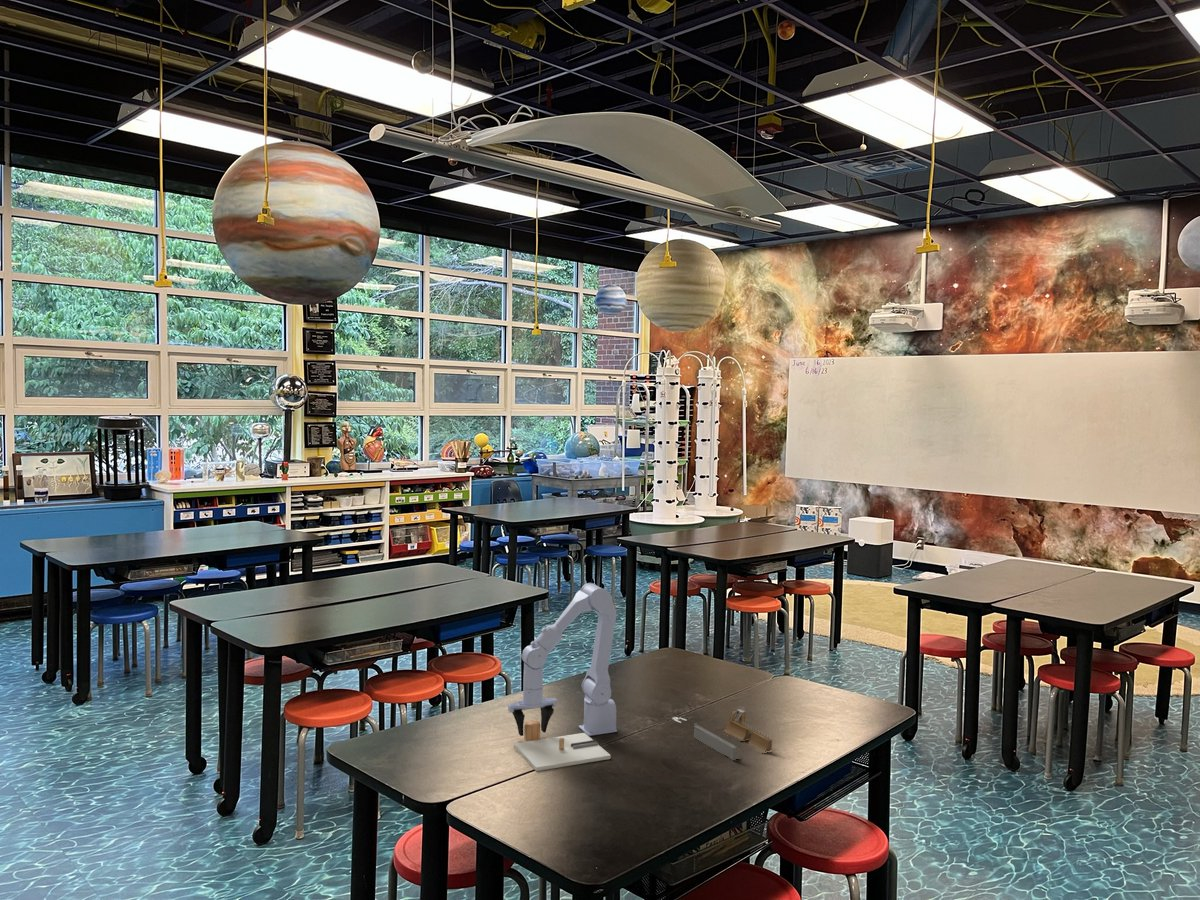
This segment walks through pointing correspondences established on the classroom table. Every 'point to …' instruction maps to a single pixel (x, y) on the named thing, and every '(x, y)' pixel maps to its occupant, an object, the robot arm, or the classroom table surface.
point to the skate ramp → (735, 729)
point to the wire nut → (532, 730)
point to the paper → (678, 719)
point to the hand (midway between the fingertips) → (532, 733)
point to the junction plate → (561, 751)
